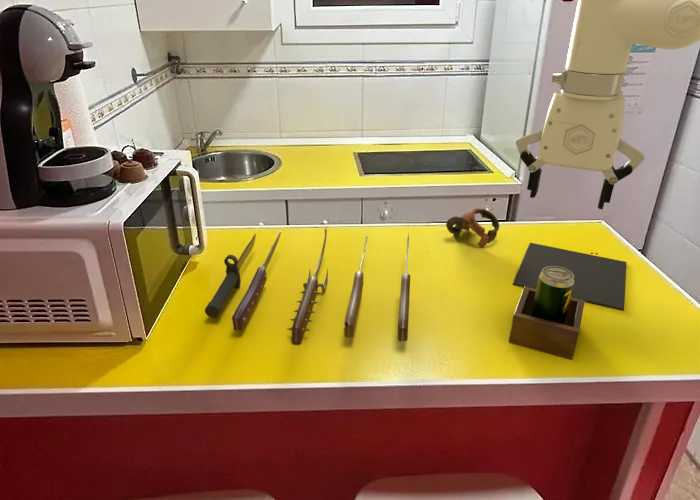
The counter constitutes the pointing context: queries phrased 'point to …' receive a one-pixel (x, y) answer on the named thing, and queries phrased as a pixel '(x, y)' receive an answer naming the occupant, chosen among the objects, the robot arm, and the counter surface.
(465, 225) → the brown curved piece
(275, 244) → the knife set
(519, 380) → the counter surface
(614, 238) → the counter surface
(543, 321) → the box
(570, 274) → the beer can
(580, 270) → the mat
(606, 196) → the robot arm
